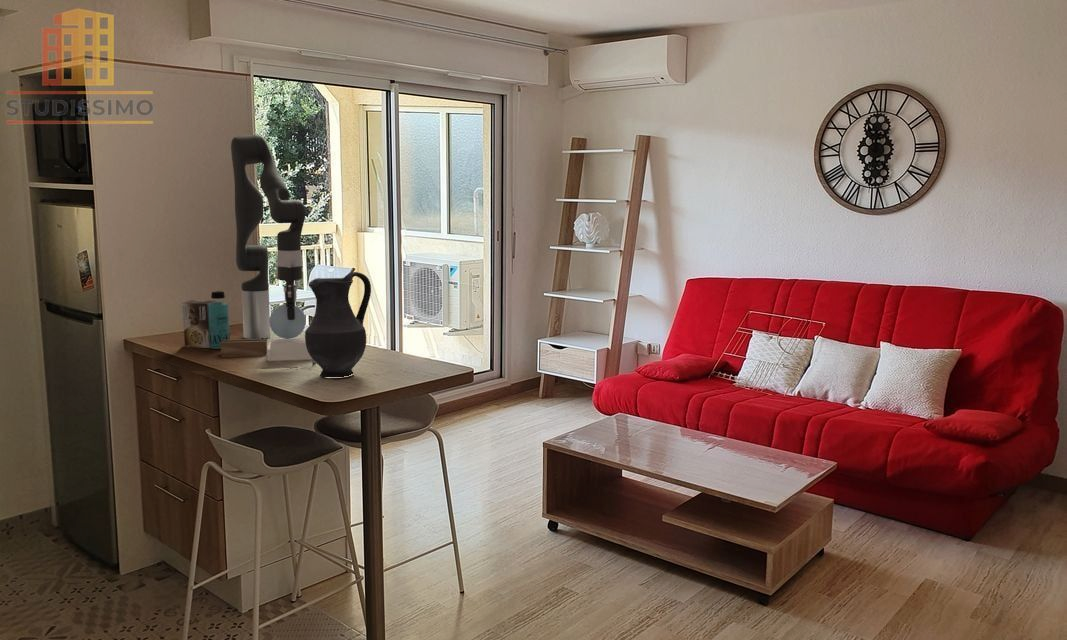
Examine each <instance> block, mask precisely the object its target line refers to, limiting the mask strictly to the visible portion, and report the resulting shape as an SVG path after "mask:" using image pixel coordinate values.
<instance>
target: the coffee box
mask: <svg viewBox="0 0 1067 640" xmlns="http://www.w3.org/2000/svg"><path fill="white" fill-rule="evenodd" d="M214 301H215V300H200V299H199V300H197V299H194V300H193V299H191V300H186V301H184V302H182V303H181V305H182V306H181V308H182V322H183V335H184V337H183V338H184V347H185V348H209V349H211V348H210V346H209V343H210V340H209V308H208V305H209V304H210V303H211V302H214Z"/></svg>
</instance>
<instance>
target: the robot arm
mask: <svg viewBox="0 0 1067 640" xmlns="http://www.w3.org/2000/svg"><path fill="white" fill-rule="evenodd" d="M230 153H231V154H230V155H231V162H232V169H233V170H232V171H233V178H234V214H235V227H236V228H235V229H236V243H235V246H236V247H235V262H236V267H237V269H238V270H239V271H241V272H258V273H257V275H256V276H254V277H252V278H250V279H247V280H245V281H243V282H242V283H241V302H242V329H243V339H262V338H263V339H268V338H271V327H270V322H269V320H270V316H271V311H270V290H269V289H270V287H269V286H270V285H269V250H268V248H267V246H266V245H262V244H258V245H257V244H253V245H252V244H249V245H247V242H248V240H249V238H250V236H251V235H252V233H253V232H254V231H255V230H256V228H257V227H258V226H259V224H260V223H261V221H262V220H263V218H264V198H263V197H264V196H265V197H266V200H267V202H268V206H269V214H270V218H271V220H273V221H274V222H275V223H277V224H290V226H288V228H287V229H285V230H281V231H279V232H278V233H277V235H276V243H277V245H276V246H277V247H276V249H277V250H276V251H277V255H276V264H277V265H276V269H277V271H276V272H277V274H276V275H277V279H278V281H285V284H284V285H283V292H284V301H285V304H286V307H287V318H288V320H294V319H295V305H296V303H297V302H296V301H297V296H298V295H297V291H298V285H297V284H295V281H300V280H303V256H302V250H301V248H302V244H301V237H302V233H303V232H302V231H303V227H304V224H305V220H306V215H307V213H306V210H307V209H306V206H305V204H304V203H303V202H302V201H301V200H299V199H298V200H297V199H293V200H292V199H291V200H290V197H291V193H290V191H289V189H288V188H287V186H286V184H285V182H284V180H283V179H282V177H281V175H280V173H279V170H278V168H277V165H276V162H275V160H274V157H273V154H272V151H271V149H270V147H269V143H268V142H267V140H266V138H264V136H262V134H261V135H260V134H250V135H248V134H247V135H240V136H235V137H233V138H232V139H231V143H230ZM255 164H262V165H263V168H262V171H261V173H260V178H259V185H260V188H261V190H262V192H263V194H264V196H263V195H262V193H261V191H260V190H259V189H258V187H256V185H255V184H254V183H253V182H252V180H251V179H250V178H249V176H248V174H247V171H246V166H247V165H255ZM296 306H297V305H296Z"/></svg>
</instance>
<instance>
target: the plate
mask: <svg viewBox="0 0 1067 640" xmlns="http://www.w3.org/2000/svg"><path fill="white" fill-rule="evenodd" d="M306 318H307V317H306V315H305V313H304V311H303V310H302V309H301V308H300V307H299V306H298V305H295V319H294V320H288V318H287V307H286V303H283V304H280V305H277V306H276V307H275V308H274V309H273V310H272V312H270V320H269V322H270V330H271V331H272V333H273V334H275V336H276V337H278V336H279V337H281V338H285V339H291V338H295V337H297V336H301V334H302V332H303V331H304V329H305V328H306V323H307V319H306Z"/></svg>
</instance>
